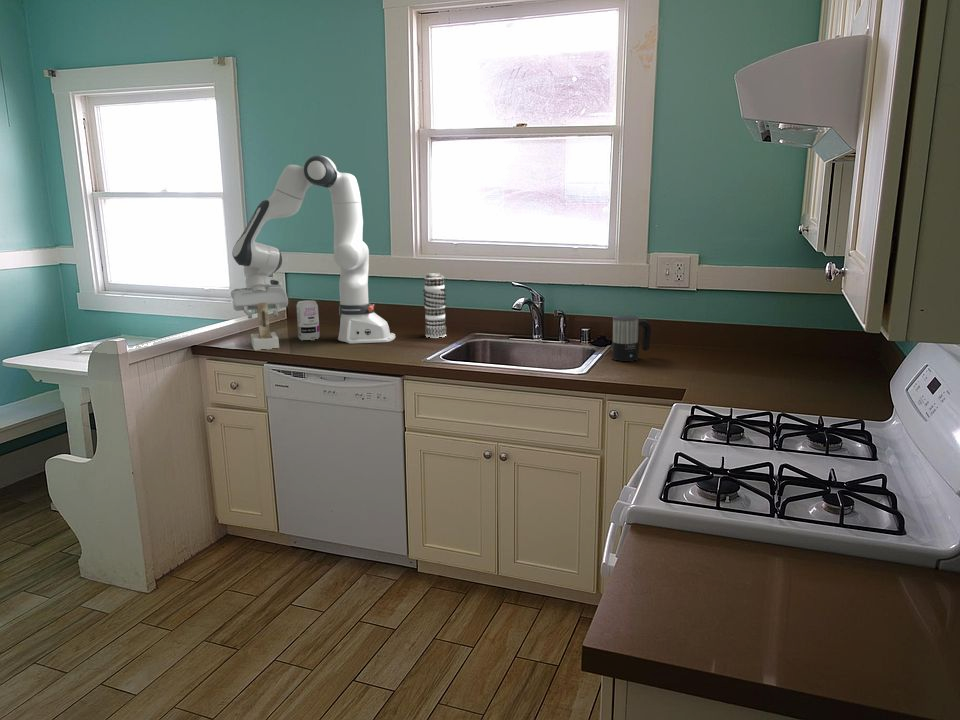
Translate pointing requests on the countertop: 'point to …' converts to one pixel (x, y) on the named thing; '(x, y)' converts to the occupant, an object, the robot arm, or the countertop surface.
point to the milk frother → (629, 337)
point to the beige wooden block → (263, 320)
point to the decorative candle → (434, 305)
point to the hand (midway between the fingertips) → (263, 316)
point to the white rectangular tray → (265, 342)
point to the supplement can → (308, 320)
